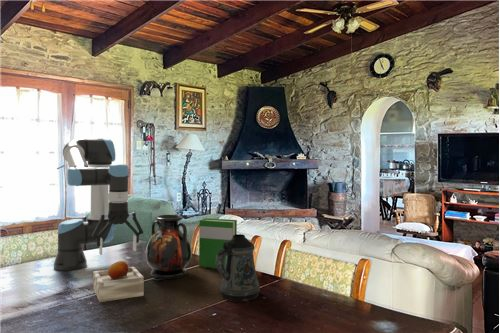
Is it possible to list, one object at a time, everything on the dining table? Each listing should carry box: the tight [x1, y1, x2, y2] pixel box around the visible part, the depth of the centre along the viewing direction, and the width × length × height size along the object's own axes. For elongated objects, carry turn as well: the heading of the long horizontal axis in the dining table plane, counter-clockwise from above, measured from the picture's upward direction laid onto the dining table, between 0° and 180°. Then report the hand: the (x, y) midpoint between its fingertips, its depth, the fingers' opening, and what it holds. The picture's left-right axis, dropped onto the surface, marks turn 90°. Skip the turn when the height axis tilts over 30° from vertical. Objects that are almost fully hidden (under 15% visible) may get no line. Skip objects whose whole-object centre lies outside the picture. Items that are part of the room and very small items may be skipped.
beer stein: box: [216, 233, 261, 302], centre depth 167 cm, size 16×19×25 cm
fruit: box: [108, 260, 129, 279], centre depth 169 cm, size 8×8×8 cm
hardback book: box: [198, 217, 238, 269], centre depth 209 cm, size 18×7×24 cm, turn 76°
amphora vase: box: [145, 214, 192, 280], centre depth 194 cm, size 22×22×28 cm
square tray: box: [92, 266, 145, 303], centre depth 169 cm, size 17×17×8 cm
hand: (118, 252), depth 169 cm, fingers open, 13 cm apart
